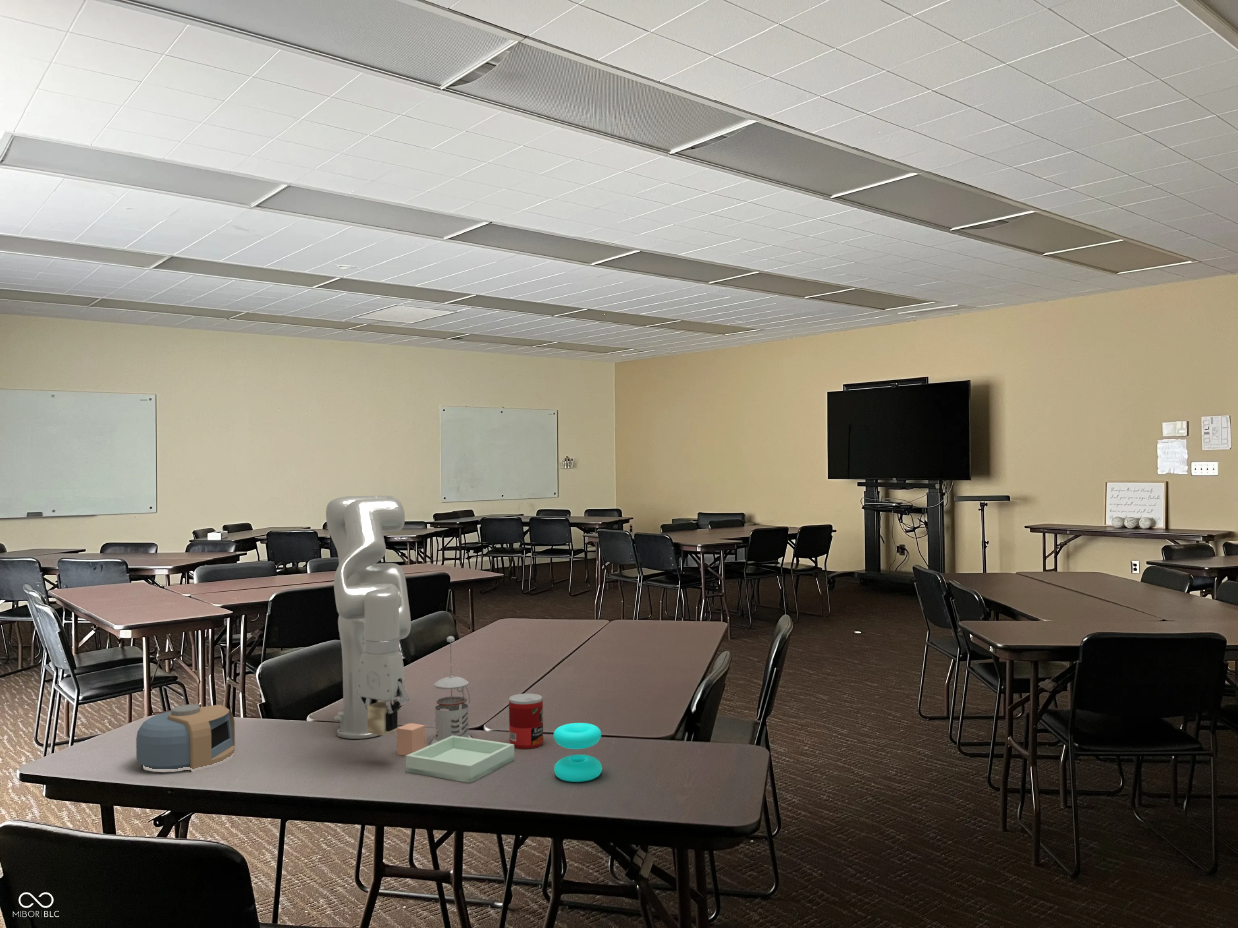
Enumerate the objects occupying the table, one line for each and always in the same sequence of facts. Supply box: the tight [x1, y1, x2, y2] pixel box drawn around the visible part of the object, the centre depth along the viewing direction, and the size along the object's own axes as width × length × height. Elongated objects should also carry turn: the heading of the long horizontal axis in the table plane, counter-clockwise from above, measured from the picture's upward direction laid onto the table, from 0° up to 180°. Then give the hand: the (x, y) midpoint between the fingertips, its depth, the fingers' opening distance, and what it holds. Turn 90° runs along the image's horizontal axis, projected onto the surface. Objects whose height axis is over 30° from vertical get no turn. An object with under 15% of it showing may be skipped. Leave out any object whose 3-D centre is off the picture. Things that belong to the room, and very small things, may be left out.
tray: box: [405, 736, 515, 784], centre depth 192 cm, size 17×16×4 cm
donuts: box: [553, 722, 603, 783], centre depth 185 cm, size 10×10×10 cm
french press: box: [431, 635, 473, 745], centre depth 212 cm, size 10×12×25 cm
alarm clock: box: [135, 704, 236, 769], centre depth 200 cm, size 19×20×12 cm
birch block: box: [368, 701, 398, 737], centre depth 195 cm, size 4×4×6 cm
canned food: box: [508, 693, 544, 750], centre depth 207 cm, size 8×8×11 cm
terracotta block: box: [396, 722, 426, 757], centre depth 202 cm, size 4×4×6 cm
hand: (382, 726), depth 195 cm, fingers closed on birch block, 4 cm apart
